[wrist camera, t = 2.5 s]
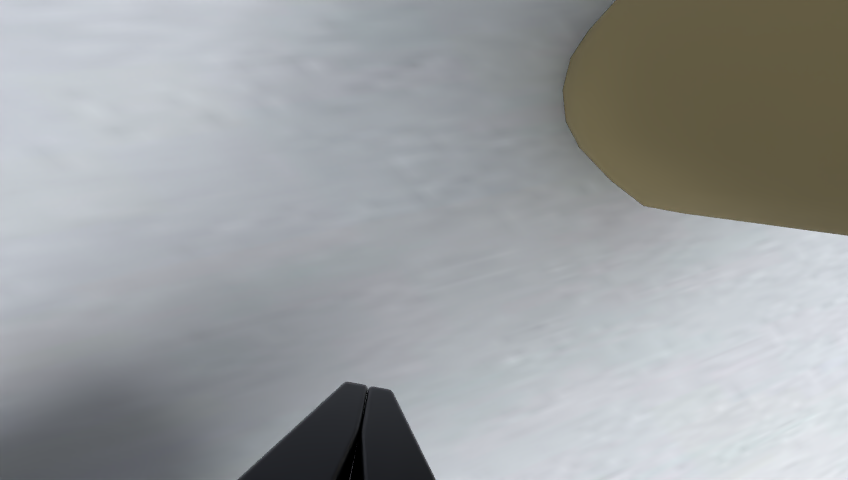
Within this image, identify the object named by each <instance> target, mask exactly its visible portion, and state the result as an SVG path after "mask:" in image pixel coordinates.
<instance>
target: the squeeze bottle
mask: <svg viewBox="0 0 848 480" xmlns="http://www.w3.org/2000/svg"><path fill="white" fill-rule="evenodd" d="M563 98H564V107H565V117H566V123H567V125H568V127H569V128H570V130H571V132H572V134H573V136H574V138H575V140H576V142H577V144H578V146H579V148H580V149H581V150H582V151H583V152H584V153H585V154H586V155H587V156H588V157H589V158H590V159H591V160H592V161H593V162H594V163H595V164H596V165H597V166H598V168H599V169H600V170H601V171H602V172H603V173H604V174H605V175H606V176H607V177H608V178H609V179H610V180H611V181H612V182H613V183H615V184H616V185H617V186H619V187H620V188H621V189H622V190H624V191H625V192H626V193H628V194H629V195H630V196H631V197H633V198H634V199H635V200H637V201H638V202H639V203H641V204H642V205H643V206H647V207H652V208H657V209H663V210H668V211H674V212H679V213H685V214H692V215H700V216H707V217H714V218H722V219H729V220H737V221H744V222H751V223H759V224H766V225H773V226H781V227H788V228H796V229H803V230H810V231H818V232H825V233H832V234H840V235H847V236H848V0H616V1H615V2H614V3H613V4H612V5H611V6H610V7H609V9H608V10H607V11H606V12H605V13H604V14H603V15H602V16H601V17H600V19H599V20H598V21H597V22H596V23H595V24H594V25H593V26H592V27H591V28H590V30H589V31H588V32H587V34H586V35H585V37H584V38H583V40H582V41H581V43H580V44H579V46H578V47H577V49H576V51H575V52H574V54H573V55H572V57H571V58H570V62H569V66H568V71H567V75H566V79H565V83H564V87H563Z"/></svg>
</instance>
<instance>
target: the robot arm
mask: <svg viewBox="0 0 848 480" xmlns="http://www.w3.org/2000/svg"><path fill="white" fill-rule="evenodd" d="M367 391H368V392H367ZM366 396H367V397H366ZM365 401H366V402H365ZM364 406H365V407H364ZM363 411H364V412H363ZM356 446H357V447H356ZM355 451H356V452H355ZM354 456H355V457H354ZM353 461H354V462H353ZM352 466H353V467H352ZM351 471H352V472H351ZM350 476H351V477H350ZM238 480H436V479H435V477H434V475H433V473H432V471H431V469H430V467H429V465H428V463H427V461H426V459H425V457H424V455H423V453H422V451H421V449H420V447H419V445H418V443H417V441H416V439H415V437H414V434H413V432H412V430H411V428H410V426H409V424H408V422H407V420H406V418H405V416H404V414H403V412H402V410H401V408H400V406H399V404H398V402H397V400H396V398H395V396H394V394H393V392H392V391H391V390H389V389H384V388H378V387H370V388H369V389H368V388H367V386H366V385H362V384H357V383H352V382H345V383H343V384H342V385H341V386H340V387H339V388H338V389H337V390H336V391H334V392H333V393H332V394H331V395H330V396H329V397H328V398H327V399H326V400H325V401H323V402H322V403H321V404H320V405H319V406H318V407H317V408H316V409H315V410H314V411H312V412H311V413H310V414H309V415H308V416H307V417H306V418H305V419H304V420H303V421H301V422H300V423H299V424H298V425H297V426H296V427H295V428H294V429H293V430H292V431H290V432H289V433H288V434H287V435H286V436H285V437H284V438H283V439H282V440H281V441H279V442H278V443H277V444H276V445H275V446H274V447H273V448H272V449H271V450H270V451H268V452H267V453H266V454H265V455H264V456H263V457H262V458H261V459H260V460H259V461H257V462H256V463H255V464H254V465H253V466H252V467H251V468H250V469H249V470H248V471H246V472H245V473H244V474H243V475H242V476H241V477H240V478H239V479H238Z"/></svg>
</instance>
